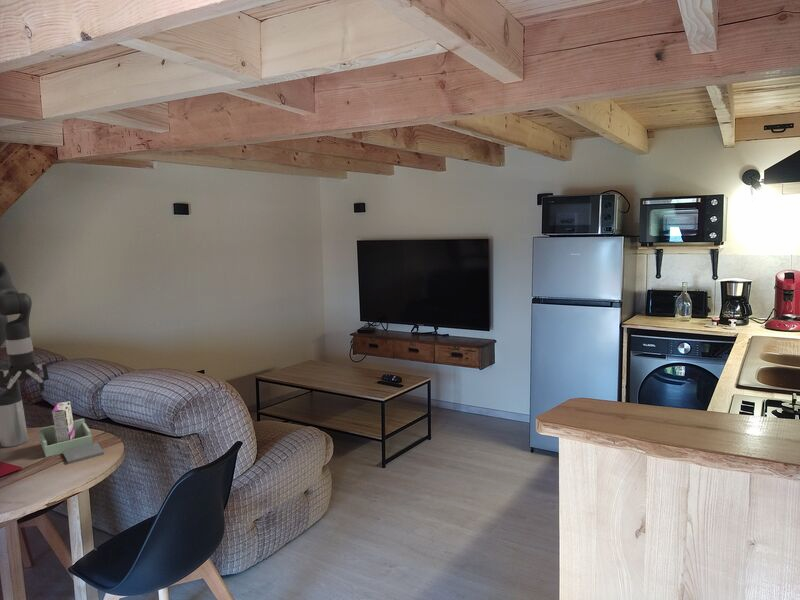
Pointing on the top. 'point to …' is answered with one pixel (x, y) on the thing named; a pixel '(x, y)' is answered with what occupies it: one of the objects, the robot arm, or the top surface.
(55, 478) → the top surface
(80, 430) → the frame
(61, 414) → the candy bar box
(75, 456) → the slate tile
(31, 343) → the robot arm
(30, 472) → the top surface
